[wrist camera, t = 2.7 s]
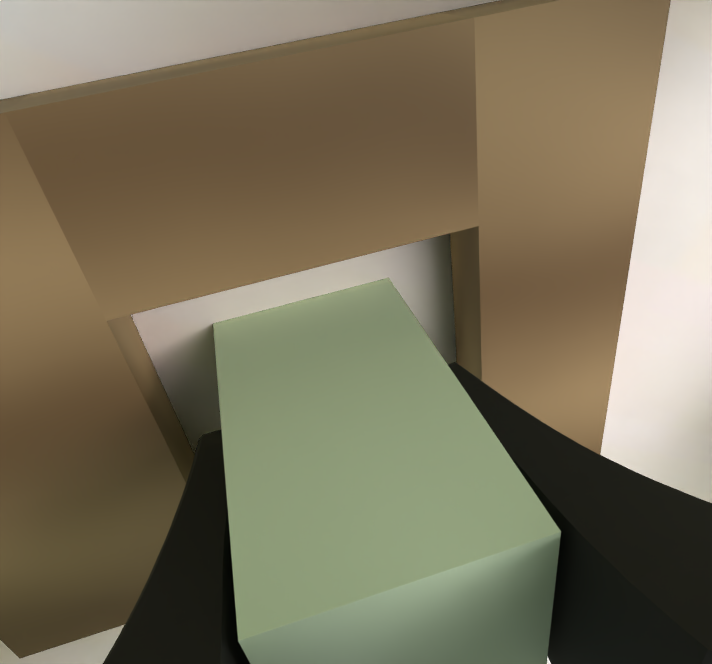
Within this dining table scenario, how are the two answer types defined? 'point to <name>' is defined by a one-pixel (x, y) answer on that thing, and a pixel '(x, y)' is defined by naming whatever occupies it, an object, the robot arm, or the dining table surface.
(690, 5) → the dining table surface
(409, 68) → the pocket board
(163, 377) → the dining table surface
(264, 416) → the block
